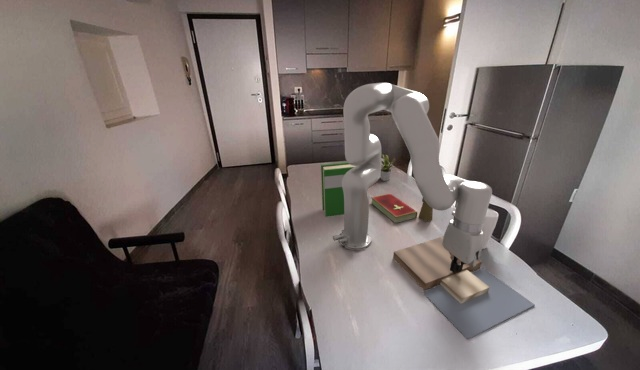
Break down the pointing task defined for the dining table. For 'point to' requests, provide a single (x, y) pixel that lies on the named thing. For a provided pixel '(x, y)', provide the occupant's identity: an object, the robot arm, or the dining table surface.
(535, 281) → the dining table surface
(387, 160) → the house plant
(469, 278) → the birch tile
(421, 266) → the walnut board
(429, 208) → the cork
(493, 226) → the drinking glass
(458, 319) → the rubber mat
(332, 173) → the hardback book
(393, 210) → the hardcover book
